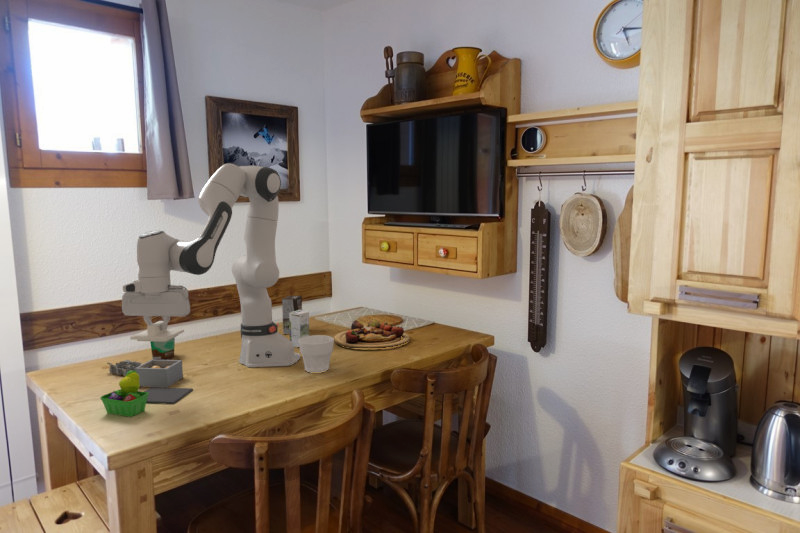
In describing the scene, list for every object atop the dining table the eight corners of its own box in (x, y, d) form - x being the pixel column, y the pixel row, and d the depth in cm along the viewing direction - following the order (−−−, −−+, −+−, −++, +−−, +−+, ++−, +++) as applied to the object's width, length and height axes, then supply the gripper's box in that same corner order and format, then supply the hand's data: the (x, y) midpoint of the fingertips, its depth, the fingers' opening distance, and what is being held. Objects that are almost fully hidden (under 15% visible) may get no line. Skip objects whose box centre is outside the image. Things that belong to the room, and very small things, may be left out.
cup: (303, 377, 193) (302, 345, 192) (295, 367, 204) (294, 337, 203) (339, 372, 198) (338, 341, 197) (329, 363, 209) (328, 333, 208)
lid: (184, 334, 178) (183, 320, 178) (167, 342, 168) (166, 327, 168) (149, 333, 180) (148, 319, 179) (130, 342, 170) (129, 326, 169)
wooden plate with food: (361, 356, 218) (361, 335, 217) (319, 339, 243) (319, 320, 242) (425, 344, 238) (425, 325, 237) (380, 329, 263) (380, 312, 262)
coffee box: (296, 335, 251) (295, 299, 249) (282, 334, 252) (281, 298, 250) (303, 330, 260) (302, 295, 258) (289, 329, 261) (288, 295, 259)
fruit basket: (99, 414, 162) (96, 376, 161) (124, 403, 171) (122, 367, 169) (130, 419, 158) (127, 380, 157) (154, 408, 166) (152, 370, 165)
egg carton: (106, 373, 200) (105, 362, 200) (125, 367, 207) (124, 356, 206) (126, 377, 195) (125, 366, 195) (145, 371, 202) (144, 360, 201)
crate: (183, 377, 194) (182, 360, 194) (167, 387, 185) (166, 369, 184) (152, 376, 196) (151, 359, 195) (135, 386, 186) (134, 368, 185)
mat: (192, 390, 181) (192, 388, 181) (173, 404, 170) (173, 402, 170) (151, 388, 183) (151, 387, 183) (129, 402, 171) (129, 400, 171)
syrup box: (299, 344, 236) (297, 309, 235) (310, 345, 233) (309, 310, 232) (289, 347, 231) (288, 312, 230) (301, 349, 228) (299, 313, 227)
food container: (165, 363, 211) (163, 336, 210) (150, 362, 213) (148, 335, 211) (184, 353, 223) (182, 328, 222) (170, 353, 225) (168, 328, 223)
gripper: (192, 283, 174) (195, 328, 176) (129, 283, 176) (132, 327, 178) (182, 287, 168) (185, 333, 169) (117, 286, 170) (120, 331, 172)
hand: (157, 330), depth 174 cm, fingers closed on lid, 2 cm apart
